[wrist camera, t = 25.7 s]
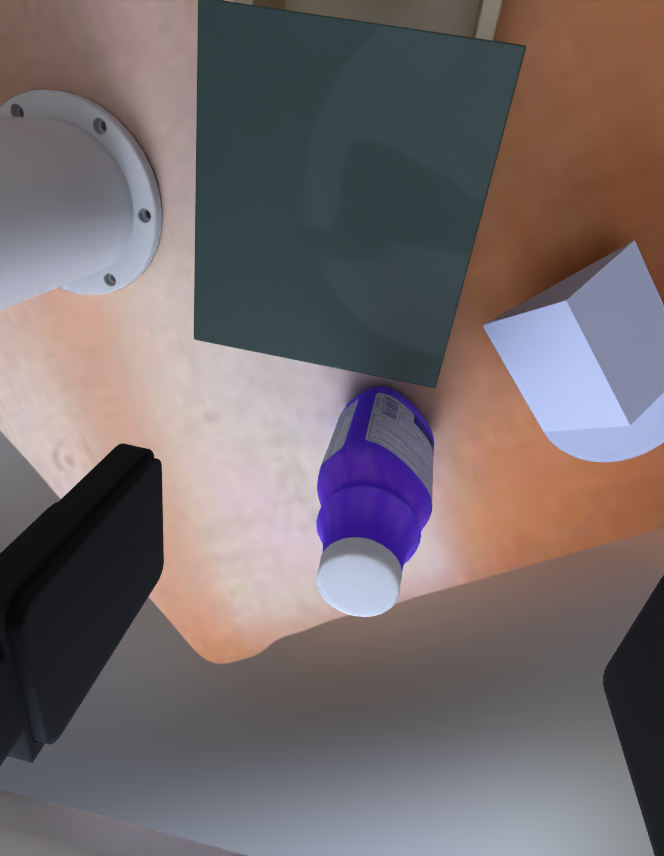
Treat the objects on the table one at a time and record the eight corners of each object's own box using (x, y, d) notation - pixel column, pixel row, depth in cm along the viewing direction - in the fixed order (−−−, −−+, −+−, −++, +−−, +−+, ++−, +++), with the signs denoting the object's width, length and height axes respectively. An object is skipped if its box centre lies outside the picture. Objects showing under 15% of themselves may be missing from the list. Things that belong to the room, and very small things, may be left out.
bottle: (327, 411, 41) (265, 570, 26) (381, 365, 38) (347, 511, 23) (392, 473, 43) (368, 656, 27) (447, 432, 40) (455, 610, 25)
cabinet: (256, 31, 30) (197, -4, 23) (503, 69, 29) (526, 45, 22) (241, 300, 38) (193, 339, 30) (435, 338, 37) (435, 388, 29)
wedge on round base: (478, 310, 35) (562, 456, 39) (486, 343, 30) (584, 511, 33) (616, 231, 32) (694, 401, 36) (656, 251, 26) (744, 451, 30)
